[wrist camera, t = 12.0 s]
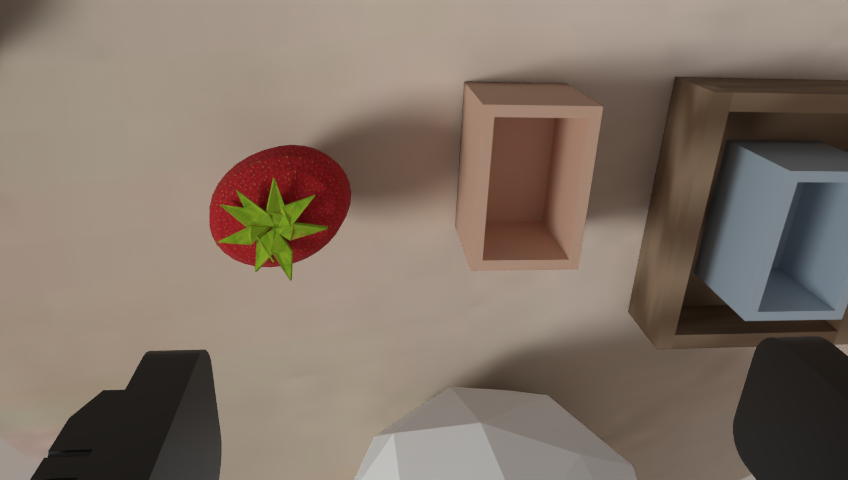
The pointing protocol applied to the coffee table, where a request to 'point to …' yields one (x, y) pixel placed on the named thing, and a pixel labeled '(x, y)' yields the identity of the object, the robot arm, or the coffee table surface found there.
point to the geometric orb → (491, 442)
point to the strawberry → (279, 206)
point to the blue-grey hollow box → (779, 231)
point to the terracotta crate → (525, 174)
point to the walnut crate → (692, 195)
